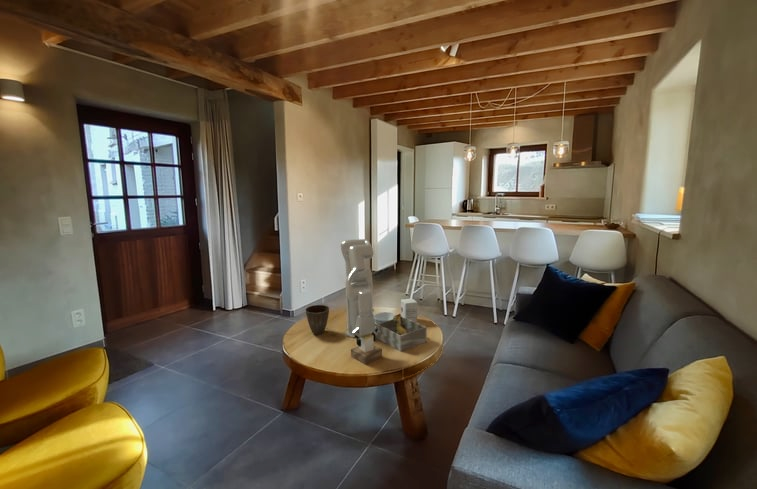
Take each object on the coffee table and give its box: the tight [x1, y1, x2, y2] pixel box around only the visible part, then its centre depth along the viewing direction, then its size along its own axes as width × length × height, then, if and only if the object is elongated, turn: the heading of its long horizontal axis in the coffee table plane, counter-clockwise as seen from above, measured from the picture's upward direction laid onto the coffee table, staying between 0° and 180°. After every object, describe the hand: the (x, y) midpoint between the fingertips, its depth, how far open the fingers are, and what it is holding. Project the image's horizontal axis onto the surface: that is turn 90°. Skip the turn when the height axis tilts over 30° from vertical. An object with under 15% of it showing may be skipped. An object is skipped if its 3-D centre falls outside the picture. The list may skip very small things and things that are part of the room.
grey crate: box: [376, 317, 428, 352], centre depth 207 cm, size 23×21×9 cm
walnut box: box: [350, 344, 383, 366], centre depth 186 cm, size 12×12×5 cm
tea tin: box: [359, 333, 374, 352], centre depth 185 cm, size 6×6×8 cm
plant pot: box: [305, 304, 330, 335], centre depth 218 cm, size 15×15×16 cm
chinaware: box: [373, 311, 396, 324], centre depth 226 cm, size 15×15×8 cm
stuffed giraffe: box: [393, 313, 407, 335], centre depth 206 cm, size 16×18×16 cm
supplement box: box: [400, 297, 418, 323], centre depth 235 cm, size 9×9×15 cm
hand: (366, 343), depth 185 cm, fingers open, 9 cm apart
